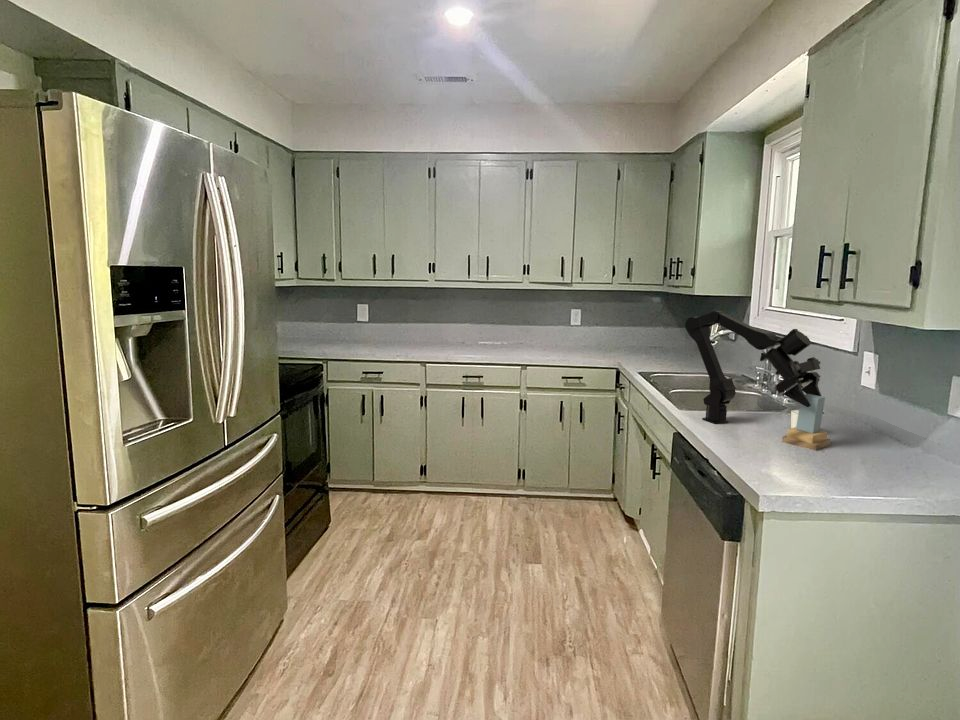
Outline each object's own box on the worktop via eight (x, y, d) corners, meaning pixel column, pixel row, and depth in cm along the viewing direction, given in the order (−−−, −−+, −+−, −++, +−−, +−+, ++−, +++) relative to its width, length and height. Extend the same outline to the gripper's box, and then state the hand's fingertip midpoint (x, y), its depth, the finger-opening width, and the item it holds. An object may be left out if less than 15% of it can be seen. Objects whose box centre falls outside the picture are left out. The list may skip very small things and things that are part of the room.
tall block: (795, 429, 181) (801, 395, 179) (803, 426, 184) (808, 393, 182) (812, 433, 177) (818, 398, 175) (819, 431, 180) (825, 397, 178)
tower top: (786, 436, 182) (787, 429, 181) (801, 433, 186) (802, 425, 185) (812, 443, 175) (813, 435, 175) (826, 439, 179) (827, 432, 179)
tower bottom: (781, 444, 182) (782, 436, 182) (796, 438, 188) (797, 431, 188) (815, 452, 174) (816, 444, 174) (829, 446, 180) (830, 439, 180)
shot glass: (804, 429, 197) (806, 409, 196) (816, 435, 190) (818, 414, 189) (784, 428, 197) (787, 409, 196) (796, 434, 190) (798, 414, 189)
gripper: (790, 351, 173) (825, 393, 166) (817, 346, 184) (850, 386, 178) (761, 372, 181) (794, 414, 174) (789, 367, 192) (820, 405, 185)
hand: (815, 404), depth 178 cm, fingers open, 9 cm apart
